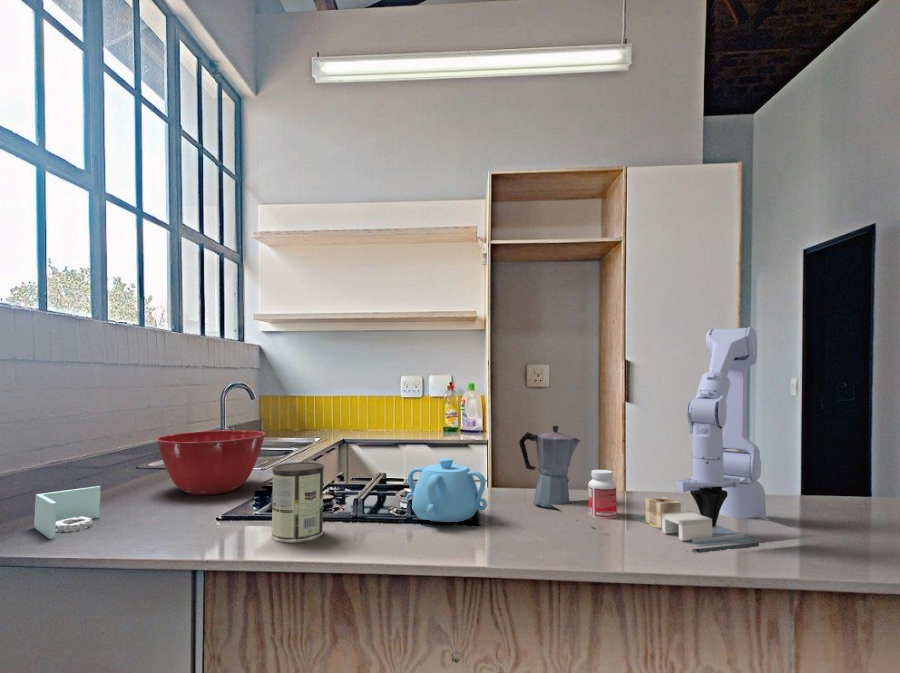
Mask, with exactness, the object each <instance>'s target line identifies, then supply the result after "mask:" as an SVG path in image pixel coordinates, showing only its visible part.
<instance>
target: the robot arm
mask: <svg viewBox="0 0 900 673" xmlns="http://www.w3.org/2000/svg"><path fill="white" fill-rule="evenodd" d="M705 346H706V350H707V352H708V353H709V356H710V357H711V358H710V362H709V363H710V364H709V370H708V371H707V372H706V373H703V374H702V376H701V378H700V381H699V385H698V388H697V392H696V394H695V398H693V399H692V400H689V401H688V404H687V408H686V417H687V422H688V426H689V434H690V435H691V449H692V452H691V453H692V454H691V456H692V475H691V476H690V477H688V478H685V479H681V480H675V490H676V491H677V492H680V493H687V492H689V493H690V494H691V496H692V497H693V499H694V502H695V503H696V506H697V508H698V510H699V514H700V515H702V516H705V517H708V518H711V519H712V527H715V526H716V525H717V522H718V518H719V515H721V516H723V517H728V518H733V519H739V520H743V519H744V520H749V519H755V518H760V519H762V520H766V521H769V520H770V519H768V518H767V513H766V512H767V510H766V509H767V508H766V491H765V488H764V486H763V484H761V482H759V481H758V480H759V479H760V478H761V474H762V460H761V450H760V448H759V446H757V445H756V444H755V443H754V442H753V441H751V440H750V439H749V438H748V437H747V416H748V415H747V408H748V407H747V404H748V398H747V397H748V374H749V370H750V369H749V368H750V367H751V366H754V365H756V363H757V360H758V336H757V333H756V330H755V329H754V328H753V327H752V326H748V327H736V328H735V327H732V328H709V329H708V331H707V332H706V335H705ZM734 450H740V451H734ZM743 451H744V452H743ZM745 451H747V452H745Z"/></svg>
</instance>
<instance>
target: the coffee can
mask: <svg viewBox="0 0 900 673" xmlns="http://www.w3.org/2000/svg"><path fill="white" fill-rule="evenodd" d="M324 469H325V465H324V464H323V463H320V462H315V461H314V462H311V461H302V462H301V461H299V462H286V463H281V464H277V465H273V466H272V470H271V471H272V504H271V505H272V506H271V507H272V510H271V511H272V513H271V515H272V516H271V517H272V518H271V520H272V521H271V539H272V540H274V541H275V542H279V543H303V542H309V541H313V540H317V539H318V538H320V537H322V536H323V534H324V532H323V525H324V524H323V520H324V519H323V518H324V517H323V514H324V512H323V511H324V508H323V507H324V506H323V505H324V503H323V502H324V501H323V500H324Z"/></svg>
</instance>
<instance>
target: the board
mask: <svg viewBox="0 0 900 673" xmlns="http://www.w3.org/2000/svg"><path fill="white" fill-rule="evenodd" d="M630 518H631V519H634V520H637V521H638V522H640V523H643V524H645V525H647V526H650V527H652V528H655V529H657V530H659V531H662V528H659V527H657V526H654V525H652V524H649V523H647V522H646V514H644V515H634V516H632V515H631V516H630ZM668 534H669V535H671V536H674V537H675V538H678V539H679V532H673V533H668ZM684 541H686V543H687V542H688V543H689V544H692V545H695V546H697V547H701V548H693V550H692V551H694V550H695V551H694V552H696V551H697V553H699V554H700V553H701V554H702V553H710V551H712V552H718V551H719V550H721V551H728V550H727V549H730V550H737V548H738V549H747V548H755V547H760V542H755V541H758V539H757V538H754V537H751V536H748V535H747V534H746V535H745V534H744V533H740V532H737V531H734V530H732V529H729V528H727V527H724V526H721V525H718V524H716V526H715V527H712V537H707V538H697V539H692V540H684ZM747 542H748V543H747ZM736 543H739V544H736ZM726 544H727V545H726ZM728 544H731V545H728ZM716 545H721V546H716ZM709 546H711V547H709ZM719 552H720V551H719Z"/></svg>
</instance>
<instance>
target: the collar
mask: <svg viewBox="0 0 900 673" xmlns="http://www.w3.org/2000/svg"><path fill="white" fill-rule="evenodd" d="M644 499H645V515H646V522H647V523H649V524H652V525H654V526H657V527H659V528H662V514H665V513H677V512H682V508H681V503H682V502H680V501H678V500H675V499H672V498H668V497H666V496H663V497H648V498H644Z"/></svg>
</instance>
